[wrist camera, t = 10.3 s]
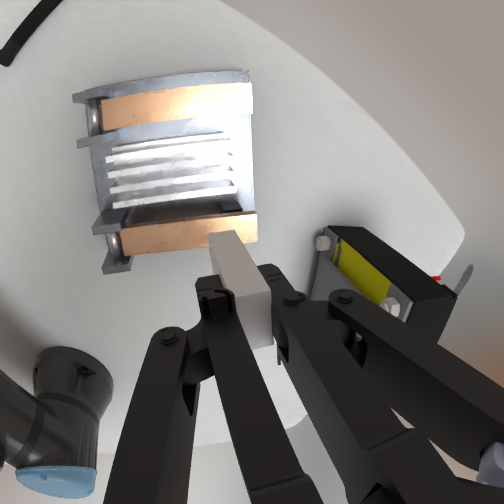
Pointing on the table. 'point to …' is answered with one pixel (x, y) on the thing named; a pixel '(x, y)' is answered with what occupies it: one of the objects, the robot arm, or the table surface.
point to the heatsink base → (166, 162)
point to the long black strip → (25, 30)
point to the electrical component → (381, 279)
